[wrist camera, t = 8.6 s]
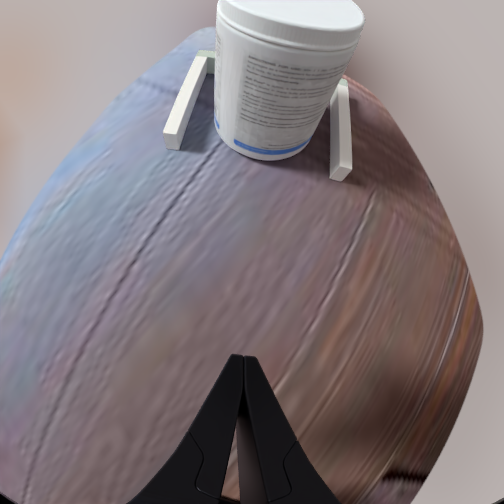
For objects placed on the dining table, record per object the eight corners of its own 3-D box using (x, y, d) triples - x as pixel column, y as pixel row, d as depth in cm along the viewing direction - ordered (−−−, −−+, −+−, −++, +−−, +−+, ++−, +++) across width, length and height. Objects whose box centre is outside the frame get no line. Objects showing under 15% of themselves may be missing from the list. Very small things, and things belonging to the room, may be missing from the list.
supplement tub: (327, 130, 27) (392, 21, 13) (266, 184, 24) (320, 50, 10) (258, 79, 27) (284, -34, 13) (191, 121, 25) (186, -13, 11)
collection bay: (341, 181, 26) (352, 169, 23) (166, 148, 24) (162, 132, 22) (339, 94, 28) (347, 80, 26) (199, 65, 27) (199, 50, 25)
